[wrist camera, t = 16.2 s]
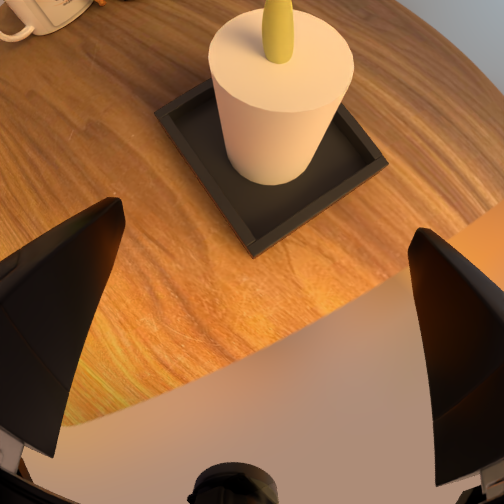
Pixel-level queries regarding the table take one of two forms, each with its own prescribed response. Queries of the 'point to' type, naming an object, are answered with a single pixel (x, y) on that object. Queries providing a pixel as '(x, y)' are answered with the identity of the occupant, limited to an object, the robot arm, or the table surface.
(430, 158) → the table surface
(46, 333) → the robot arm
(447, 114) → the table surface
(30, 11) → the mug
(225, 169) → the shallow square tray
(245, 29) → the candle
